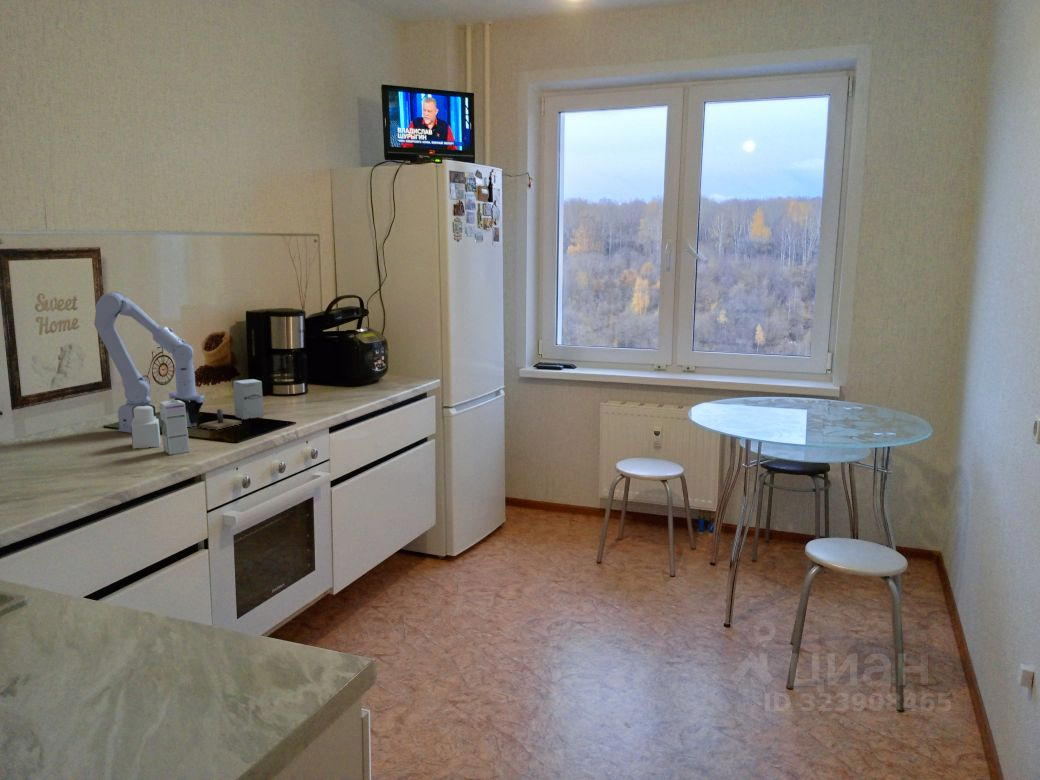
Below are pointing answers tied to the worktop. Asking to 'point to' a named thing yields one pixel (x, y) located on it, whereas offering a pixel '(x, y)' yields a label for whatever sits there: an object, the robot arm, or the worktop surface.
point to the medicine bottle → (145, 427)
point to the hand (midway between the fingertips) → (188, 422)
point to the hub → (189, 420)
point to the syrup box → (174, 427)
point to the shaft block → (220, 422)
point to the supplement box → (248, 398)
